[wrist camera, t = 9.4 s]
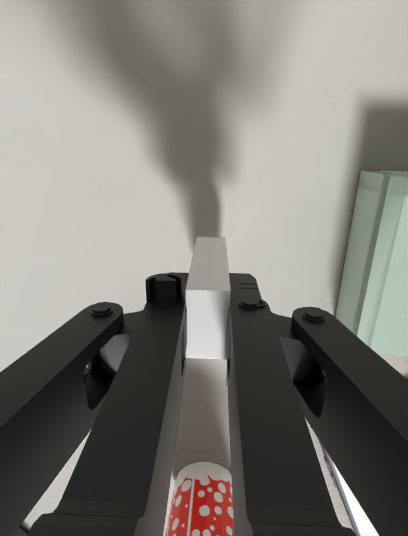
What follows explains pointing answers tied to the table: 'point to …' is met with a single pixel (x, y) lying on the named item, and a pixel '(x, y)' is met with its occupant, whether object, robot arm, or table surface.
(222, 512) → the beverage cup
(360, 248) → the bevelled sage-green slab
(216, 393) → the table surface
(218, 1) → the table surface
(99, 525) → the robot arm
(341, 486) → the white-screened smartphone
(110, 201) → the table surface
